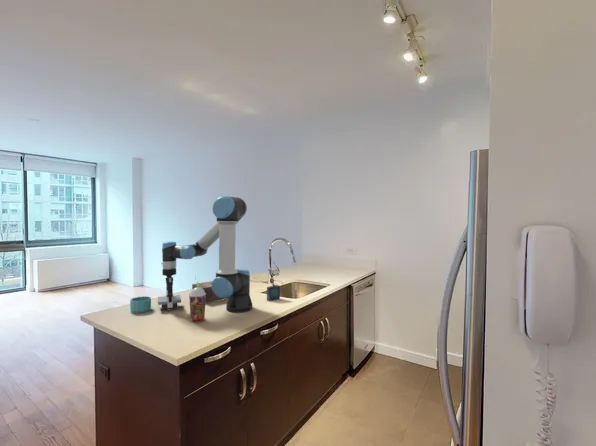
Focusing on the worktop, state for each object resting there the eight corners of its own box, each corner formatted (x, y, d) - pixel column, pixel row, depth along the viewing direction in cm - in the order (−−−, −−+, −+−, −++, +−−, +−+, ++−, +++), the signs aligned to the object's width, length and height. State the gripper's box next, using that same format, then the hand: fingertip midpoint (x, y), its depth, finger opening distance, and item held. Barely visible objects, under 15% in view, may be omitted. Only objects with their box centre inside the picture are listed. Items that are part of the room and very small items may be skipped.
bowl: (150, 311, 174) (150, 300, 173) (129, 314, 169) (129, 302, 169) (150, 306, 183) (150, 295, 183) (131, 308, 178) (130, 297, 178)
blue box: (267, 301, 197) (267, 284, 197) (265, 300, 199) (265, 283, 199) (280, 299, 201) (280, 283, 201) (278, 298, 204) (278, 282, 204)
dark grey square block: (177, 308, 179) (177, 302, 179) (162, 310, 175) (162, 303, 175) (176, 305, 186) (176, 298, 186) (161, 306, 183) (161, 300, 182)
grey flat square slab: (181, 302, 178) (181, 300, 178) (158, 305, 173) (158, 302, 173) (179, 297, 189) (179, 295, 189) (157, 299, 183) (157, 297, 183)
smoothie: (196, 324, 154) (196, 284, 154) (185, 321, 158) (185, 282, 158) (209, 319, 161) (209, 281, 161) (198, 316, 165) (198, 279, 165)
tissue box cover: (202, 304, 190) (202, 288, 190) (192, 299, 200) (192, 284, 200) (238, 296, 208) (238, 282, 208) (227, 292, 218) (227, 278, 218)
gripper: (161, 265, 189) (161, 300, 190) (163, 272, 168) (163, 311, 168) (174, 264, 193) (174, 298, 193) (177, 271, 171) (177, 309, 171)
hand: (169, 304), depth 181 cm, fingers closed on grey flat square slab, 12 cm apart
